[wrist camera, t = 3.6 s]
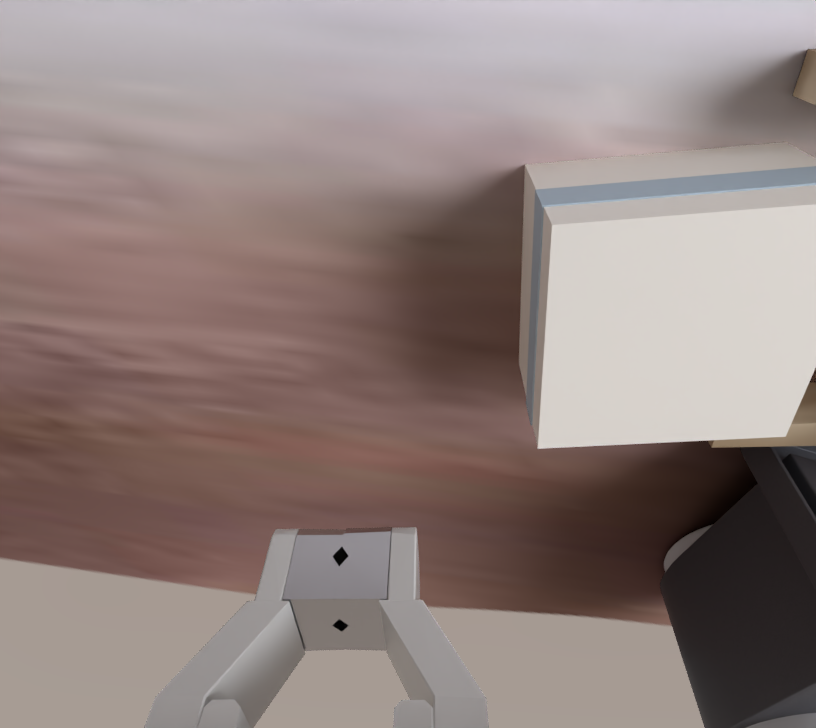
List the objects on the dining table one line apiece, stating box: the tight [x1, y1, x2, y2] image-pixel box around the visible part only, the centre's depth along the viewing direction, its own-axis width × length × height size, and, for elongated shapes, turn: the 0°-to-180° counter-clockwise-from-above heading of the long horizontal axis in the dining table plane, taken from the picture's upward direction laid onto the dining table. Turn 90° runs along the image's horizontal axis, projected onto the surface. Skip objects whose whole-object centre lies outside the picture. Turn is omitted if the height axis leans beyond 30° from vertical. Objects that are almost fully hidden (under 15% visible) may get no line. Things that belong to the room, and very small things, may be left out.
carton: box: [519, 142, 816, 449], centre depth 18 cm, size 8×8×5 cm
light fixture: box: [660, 446, 816, 728], centre depth 24 cm, size 11×13×11 cm
